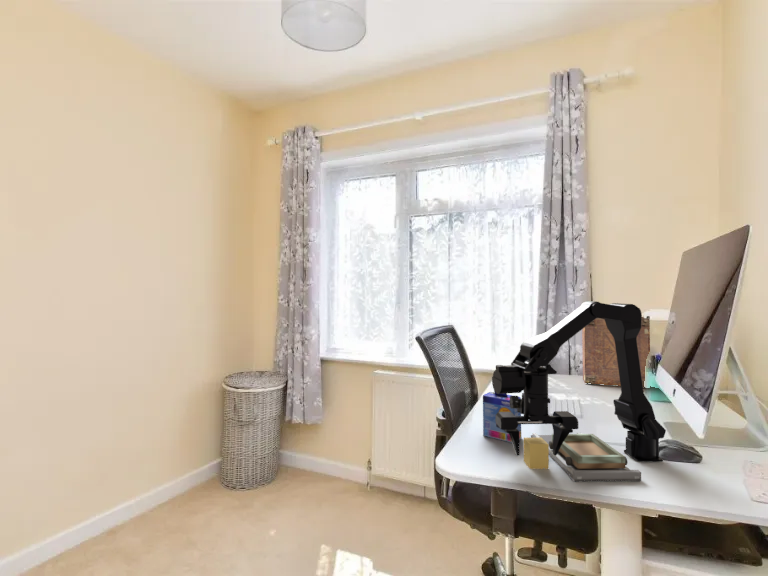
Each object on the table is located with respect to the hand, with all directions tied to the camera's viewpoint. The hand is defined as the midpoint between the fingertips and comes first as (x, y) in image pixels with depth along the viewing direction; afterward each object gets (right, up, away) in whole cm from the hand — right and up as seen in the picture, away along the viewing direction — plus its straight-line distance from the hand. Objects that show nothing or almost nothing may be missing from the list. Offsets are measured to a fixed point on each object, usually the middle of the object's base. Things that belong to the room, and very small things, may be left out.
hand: (536, 454), depth 103 cm
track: (+13, -2, +5) cm, 14 cm away
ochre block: (0, -3, 0) cm, 3 cm away
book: (+66, -2, +83) cm, 106 cm away
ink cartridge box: (-3, -3, +19) cm, 19 cm away
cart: (+13, -1, +1) cm, 13 cm away
